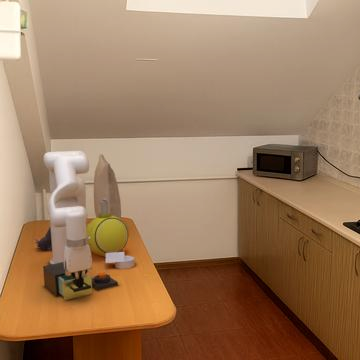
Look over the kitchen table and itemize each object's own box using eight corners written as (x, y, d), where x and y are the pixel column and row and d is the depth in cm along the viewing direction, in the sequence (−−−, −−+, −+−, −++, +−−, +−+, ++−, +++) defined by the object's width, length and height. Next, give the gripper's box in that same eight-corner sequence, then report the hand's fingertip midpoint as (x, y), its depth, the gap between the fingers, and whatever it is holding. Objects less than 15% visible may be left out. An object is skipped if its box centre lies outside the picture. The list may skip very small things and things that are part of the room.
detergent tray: (97, 296, 220) (96, 279, 219) (69, 303, 213) (68, 285, 212) (79, 284, 234) (78, 267, 233) (52, 290, 227) (51, 273, 226)
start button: (107, 277, 235) (107, 273, 235) (99, 279, 233) (99, 275, 233) (104, 275, 238) (104, 271, 238) (96, 277, 236) (96, 273, 235)
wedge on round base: (106, 269, 255) (134, 267, 257) (105, 255, 254) (134, 254, 256) (106, 263, 263) (134, 261, 266) (106, 250, 262) (134, 248, 265)
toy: (77, 253, 280) (73, 195, 275) (116, 246, 293) (114, 190, 288) (95, 265, 262) (91, 203, 256) (136, 256, 274) (134, 197, 269)
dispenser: (86, 289, 230) (85, 268, 229) (56, 296, 223) (55, 275, 221) (73, 280, 242) (72, 260, 240) (44, 286, 234) (42, 266, 233)
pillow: (125, 240, 302) (121, 162, 295) (99, 243, 298) (94, 164, 291) (116, 222, 343) (112, 153, 336) (93, 224, 339) (89, 154, 331)
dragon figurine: (87, 231, 291) (38, 226, 279) (83, 253, 291) (34, 249, 280) (84, 226, 300) (36, 221, 289) (80, 248, 301) (32, 244, 290)
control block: (117, 285, 234) (117, 277, 234) (97, 290, 229) (97, 282, 228) (106, 278, 243) (106, 271, 242) (87, 283, 238) (86, 275, 237)
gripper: (91, 236, 222) (93, 280, 226) (54, 243, 214) (57, 288, 217) (99, 241, 217) (101, 285, 220) (61, 248, 208) (64, 294, 211)
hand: (79, 286), depth 218 cm, fingers closed
